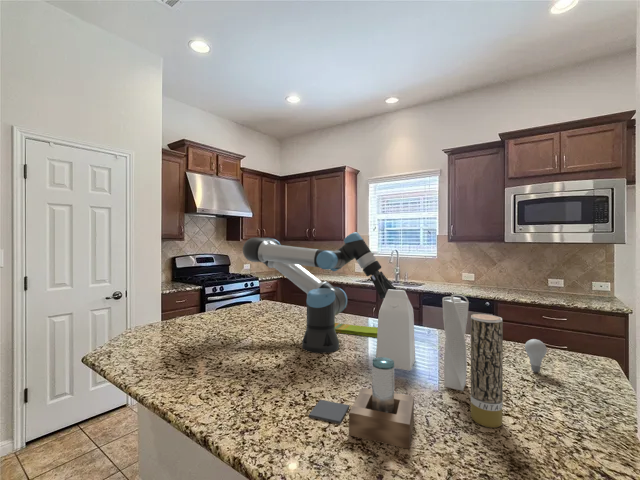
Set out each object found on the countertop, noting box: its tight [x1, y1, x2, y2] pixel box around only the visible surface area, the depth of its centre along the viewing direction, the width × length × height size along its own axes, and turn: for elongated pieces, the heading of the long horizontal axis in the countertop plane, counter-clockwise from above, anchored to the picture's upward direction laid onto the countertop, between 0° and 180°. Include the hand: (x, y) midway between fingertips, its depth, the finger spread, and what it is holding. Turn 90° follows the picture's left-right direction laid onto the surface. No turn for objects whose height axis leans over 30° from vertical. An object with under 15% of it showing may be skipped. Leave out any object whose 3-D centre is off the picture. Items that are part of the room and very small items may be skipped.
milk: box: [375, 289, 416, 372], centre depth 113 cm, size 12×12×26 cm
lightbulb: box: [524, 338, 548, 373], centre depth 105 cm, size 6×6×11 cm
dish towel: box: [335, 322, 378, 339], centre depth 154 cm, size 15×36×3 cm, turn 67°
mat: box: [308, 399, 350, 425], centre depth 79 cm, size 8×8×1 cm
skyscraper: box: [442, 293, 470, 392], centre depth 95 cm, size 8×8×28 cm
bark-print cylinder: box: [470, 313, 504, 429], centre depth 76 cm, size 7×7×25 cm
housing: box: [348, 387, 415, 450], centre depth 73 cm, size 13×13×5 cm
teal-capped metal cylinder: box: [371, 357, 395, 414], centre depth 73 cm, size 5×5×15 cm
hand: (398, 307), depth 130 cm, fingers open, 13 cm apart
